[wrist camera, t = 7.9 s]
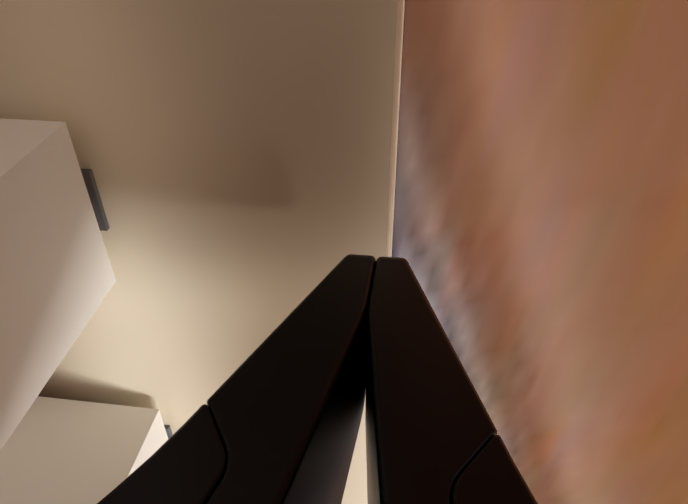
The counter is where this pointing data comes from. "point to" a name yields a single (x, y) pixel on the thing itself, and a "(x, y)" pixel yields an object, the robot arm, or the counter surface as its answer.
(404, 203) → the counter surface
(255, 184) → the switch board
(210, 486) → the robot arm
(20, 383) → the switch
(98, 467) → the switch
